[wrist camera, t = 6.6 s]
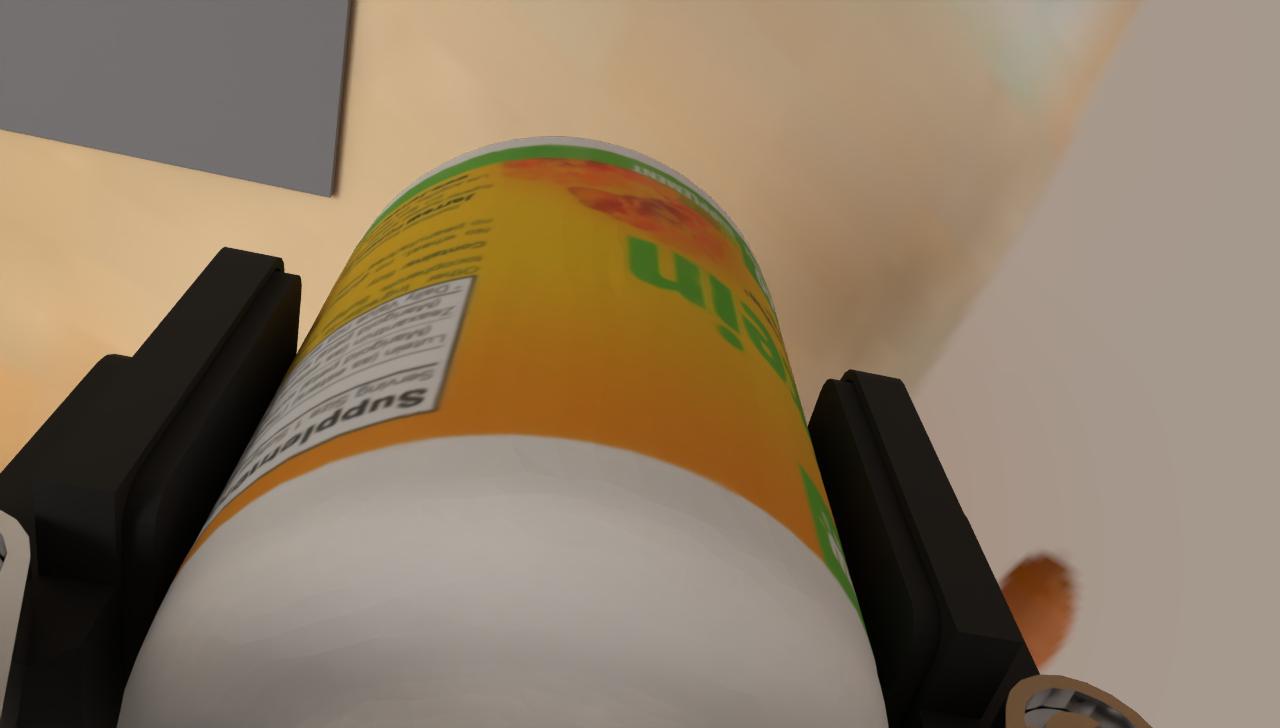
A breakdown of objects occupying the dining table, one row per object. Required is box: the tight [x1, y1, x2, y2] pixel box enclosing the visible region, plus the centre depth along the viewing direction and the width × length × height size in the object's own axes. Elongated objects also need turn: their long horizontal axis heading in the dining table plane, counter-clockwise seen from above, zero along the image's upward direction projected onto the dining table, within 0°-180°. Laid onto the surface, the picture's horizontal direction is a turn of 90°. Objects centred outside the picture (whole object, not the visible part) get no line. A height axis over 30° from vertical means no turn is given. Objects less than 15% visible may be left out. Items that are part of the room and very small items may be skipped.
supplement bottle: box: [117, 136, 889, 728], centre depth 9 cm, size 5×5×10 cm
